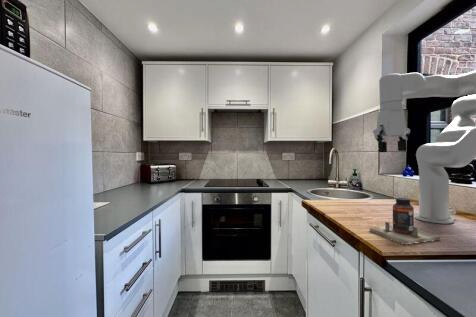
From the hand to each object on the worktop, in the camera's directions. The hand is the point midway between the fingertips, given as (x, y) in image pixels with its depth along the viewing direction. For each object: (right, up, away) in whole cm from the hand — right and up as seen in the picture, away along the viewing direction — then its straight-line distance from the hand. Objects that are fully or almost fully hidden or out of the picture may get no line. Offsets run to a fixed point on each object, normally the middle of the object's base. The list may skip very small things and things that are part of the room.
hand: (392, 151), depth 94 cm
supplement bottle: (-4, -28, -11) cm, 30 cm away
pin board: (-4, -29, -11) cm, 31 cm away
